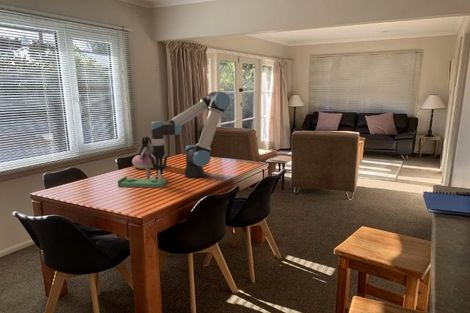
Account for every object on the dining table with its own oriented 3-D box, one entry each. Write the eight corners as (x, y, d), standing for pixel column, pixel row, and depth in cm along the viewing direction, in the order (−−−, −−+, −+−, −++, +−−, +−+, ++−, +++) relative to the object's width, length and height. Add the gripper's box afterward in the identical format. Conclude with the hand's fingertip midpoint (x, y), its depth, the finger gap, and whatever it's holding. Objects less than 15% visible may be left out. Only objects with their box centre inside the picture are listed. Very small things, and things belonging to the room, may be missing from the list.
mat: (167, 182, 229) (166, 176, 228) (161, 187, 217) (161, 181, 217) (125, 181, 232) (125, 176, 231) (118, 186, 220) (117, 180, 219)
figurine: (147, 180, 234) (145, 139, 228) (134, 180, 236) (131, 138, 230) (160, 173, 255) (158, 134, 249) (148, 172, 257) (146, 134, 251)
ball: (156, 180, 225) (156, 174, 224) (154, 182, 221) (154, 176, 221) (151, 180, 226) (150, 174, 225) (149, 182, 222) (148, 176, 221)
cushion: (165, 163, 291) (164, 152, 289) (160, 170, 266) (159, 157, 264) (136, 163, 290) (136, 152, 288) (128, 170, 265) (127, 158, 263)
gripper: (169, 143, 221) (171, 177, 226) (150, 143, 222) (152, 177, 227) (166, 145, 214) (167, 180, 218) (146, 145, 215) (148, 180, 219)
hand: (160, 179), depth 223 cm, fingers closed
